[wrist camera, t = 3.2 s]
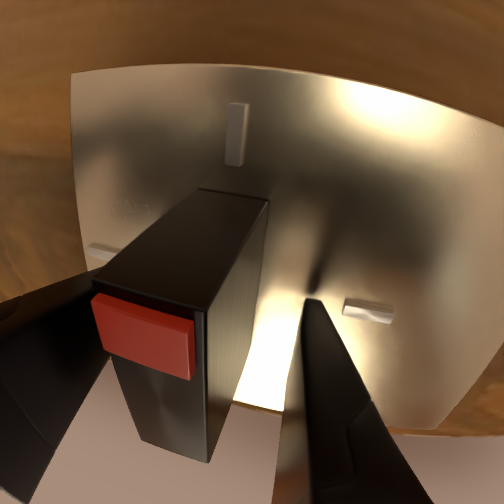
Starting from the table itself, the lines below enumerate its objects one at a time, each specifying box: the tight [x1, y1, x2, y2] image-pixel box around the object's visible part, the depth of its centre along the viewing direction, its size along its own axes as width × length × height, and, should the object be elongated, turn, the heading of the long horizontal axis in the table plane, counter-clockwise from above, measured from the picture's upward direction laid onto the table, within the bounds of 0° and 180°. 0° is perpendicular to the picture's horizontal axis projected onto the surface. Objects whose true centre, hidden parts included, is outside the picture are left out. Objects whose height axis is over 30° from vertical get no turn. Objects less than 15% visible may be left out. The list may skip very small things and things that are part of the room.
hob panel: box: [70, 63, 504, 430], centre depth 10 cm, size 14×11×3 cm
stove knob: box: [91, 190, 269, 463], centre depth 7 cm, size 5×2×4 cm, turn 174°
